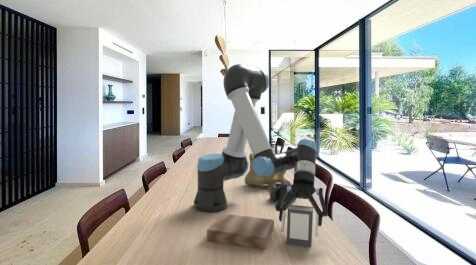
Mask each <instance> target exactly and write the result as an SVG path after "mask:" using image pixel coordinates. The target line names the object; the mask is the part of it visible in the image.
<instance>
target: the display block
mask: <svg viewBox="0 0 476 265" xmlns="http://www.w3.org/2000/svg"><path fill="white" fill-rule="evenodd" d="M274 231H275V219H272V218H271V219H270V218H262V217H255V216H245V215H237V214H230V213H229V214H228V213H221V215H220V216H219V217H218V218H217V219H216V220H215V221H214V222H213V223H212V224H211V225H210V226H209V227H208V228H207V229H206V241H207V242H212V243H220V244H226V245H231V246H232V245H233V246H237V247H245V248H250V249H251V248H252V249H258V250H259V249H260V250H266V248H267V246H268V244H269V242H270V240H271V237H272V235H273V233H274Z"/></svg>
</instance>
